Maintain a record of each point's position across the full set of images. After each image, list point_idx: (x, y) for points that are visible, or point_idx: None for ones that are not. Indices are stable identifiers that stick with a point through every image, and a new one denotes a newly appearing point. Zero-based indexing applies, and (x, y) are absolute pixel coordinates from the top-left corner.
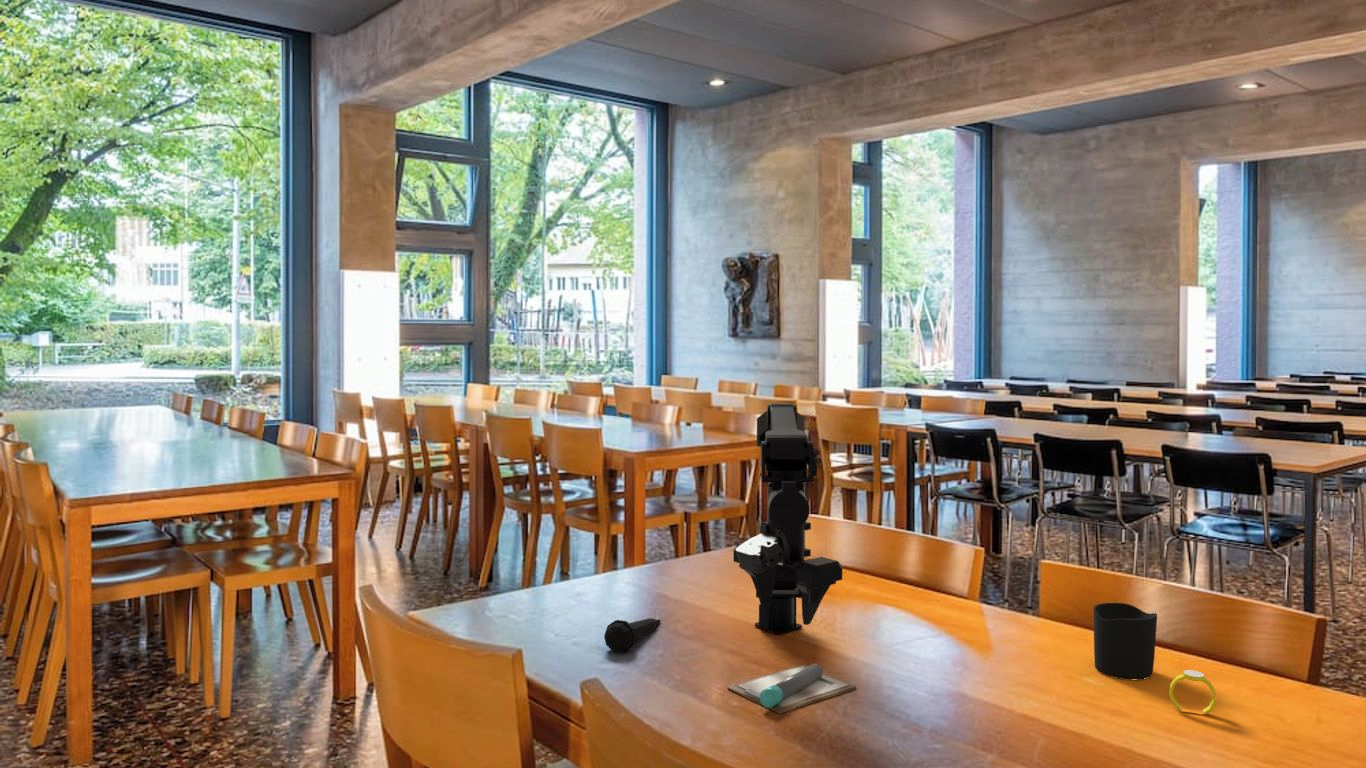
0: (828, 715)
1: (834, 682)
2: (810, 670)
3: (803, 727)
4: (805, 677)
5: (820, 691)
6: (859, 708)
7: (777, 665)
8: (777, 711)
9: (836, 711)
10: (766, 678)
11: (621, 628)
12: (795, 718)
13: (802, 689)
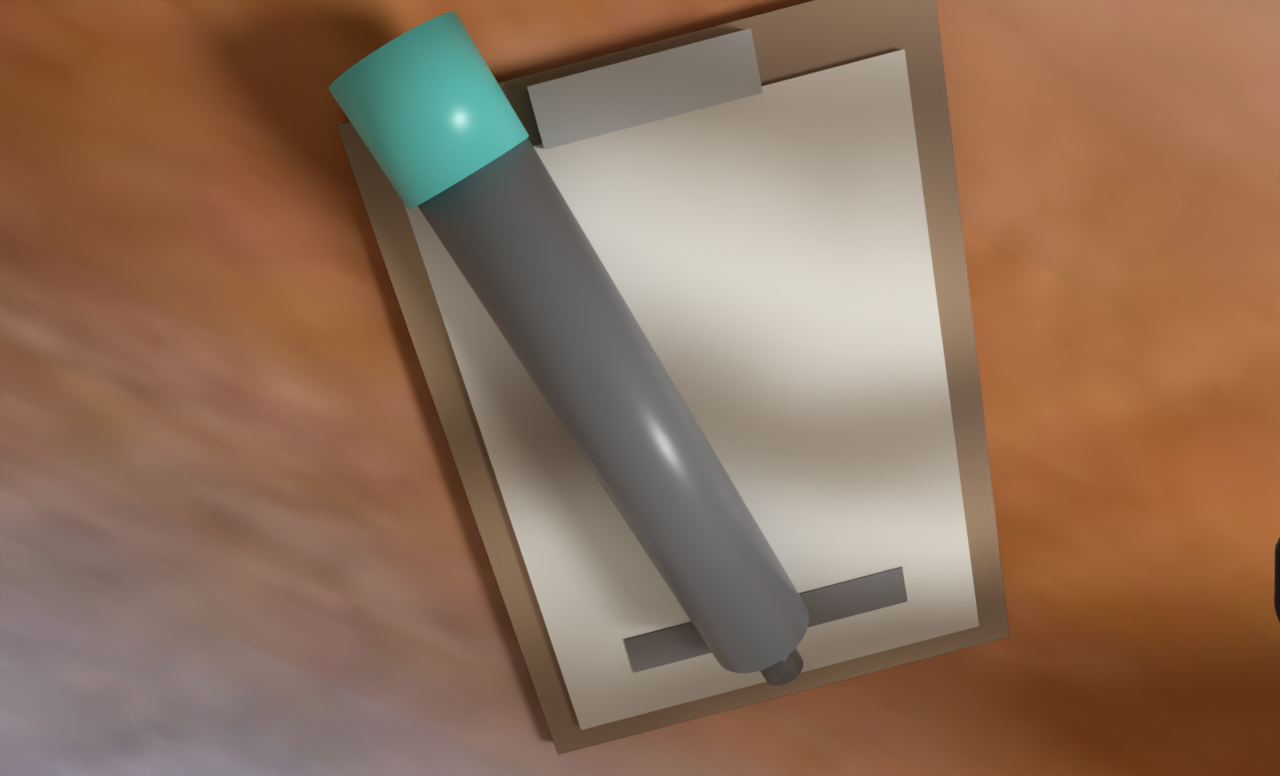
0: (217, 418)
1: (647, 672)
2: (692, 583)
3: (55, 165)
4: (621, 504)
5: (546, 535)
6: (271, 632)
7: (1113, 508)
8: None
9: (266, 493)
10: (912, 319)
11: None
12: (228, 191)
13: None
